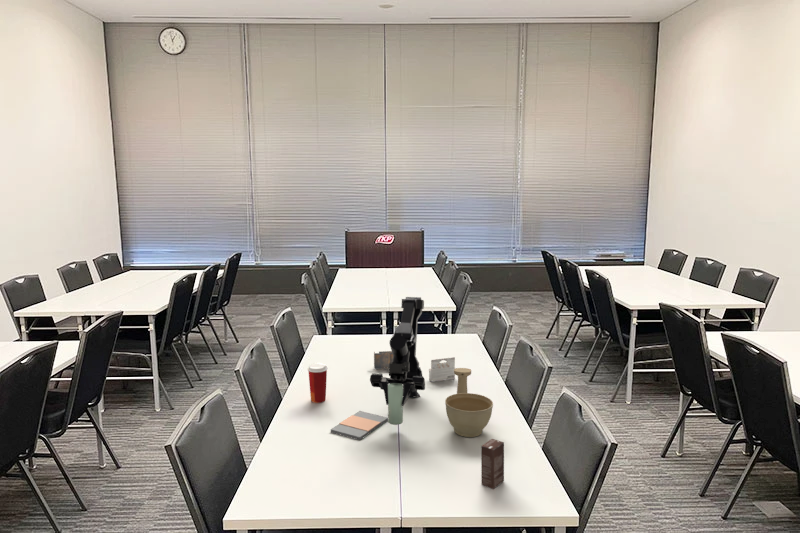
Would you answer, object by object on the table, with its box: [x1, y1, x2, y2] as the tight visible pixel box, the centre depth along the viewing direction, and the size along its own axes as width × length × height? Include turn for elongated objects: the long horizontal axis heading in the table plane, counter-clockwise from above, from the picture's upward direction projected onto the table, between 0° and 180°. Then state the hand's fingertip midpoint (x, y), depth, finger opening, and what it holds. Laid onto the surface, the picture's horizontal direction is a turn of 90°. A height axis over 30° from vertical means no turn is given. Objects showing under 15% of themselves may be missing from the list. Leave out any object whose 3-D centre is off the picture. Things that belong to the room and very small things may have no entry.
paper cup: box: [307, 362, 328, 404], centre depth 228 cm, size 8×8×14 cm
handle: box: [454, 367, 472, 394], centre depth 220 cm, size 5×6×15 cm
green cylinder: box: [387, 383, 404, 426], centre depth 201 cm, size 5×5×13 cm
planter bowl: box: [444, 392, 494, 438], centre depth 201 cm, size 16×16×11 cm
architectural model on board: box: [373, 350, 393, 370], centre depth 266 cm, size 11×3×10 cm, turn 97°
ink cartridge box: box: [428, 357, 456, 382], centre depth 251 cm, size 2×11×10 cm, turn 108°
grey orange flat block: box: [330, 410, 388, 441], centre depth 206 cm, size 18×12×1 cm, turn 150°
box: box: [480, 438, 505, 490], centre depth 168 cm, size 6×4×12 cm
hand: (394, 405), depth 200 cm, fingers closed on green cylinder, 5 cm apart
